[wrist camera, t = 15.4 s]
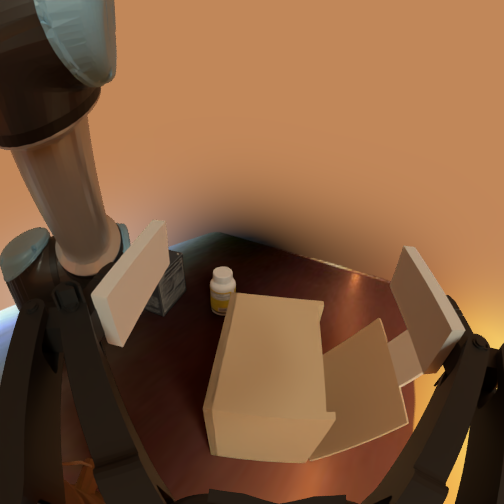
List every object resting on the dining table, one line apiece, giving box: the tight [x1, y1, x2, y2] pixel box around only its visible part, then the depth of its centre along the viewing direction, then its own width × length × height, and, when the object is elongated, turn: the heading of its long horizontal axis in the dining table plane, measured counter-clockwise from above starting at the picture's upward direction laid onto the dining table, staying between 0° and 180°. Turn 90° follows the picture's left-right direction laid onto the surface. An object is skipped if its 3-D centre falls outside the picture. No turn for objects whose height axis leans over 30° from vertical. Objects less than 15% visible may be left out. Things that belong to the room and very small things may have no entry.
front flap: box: [309, 318, 423, 461], centre depth 37 cm, size 1×20×26 cm
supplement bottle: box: [210, 267, 236, 315], centre depth 62 cm, size 5×5×10 cm
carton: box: [203, 292, 336, 463], centre depth 39 cm, size 14×20×16 cm
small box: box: [144, 250, 186, 316], centre depth 63 cm, size 11×6×10 cm, turn 161°
